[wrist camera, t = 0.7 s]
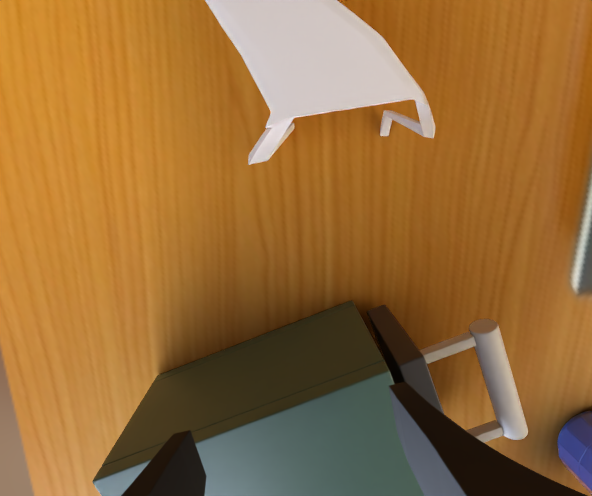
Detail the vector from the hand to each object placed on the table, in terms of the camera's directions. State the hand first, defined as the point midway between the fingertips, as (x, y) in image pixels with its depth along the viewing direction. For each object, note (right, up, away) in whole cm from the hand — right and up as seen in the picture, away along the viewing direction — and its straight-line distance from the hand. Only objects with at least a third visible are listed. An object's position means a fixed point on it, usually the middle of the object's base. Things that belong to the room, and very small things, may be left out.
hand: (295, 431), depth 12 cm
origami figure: (+1, +15, +7) cm, 16 cm away
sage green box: (-1, -5, +11) cm, 12 cm away
